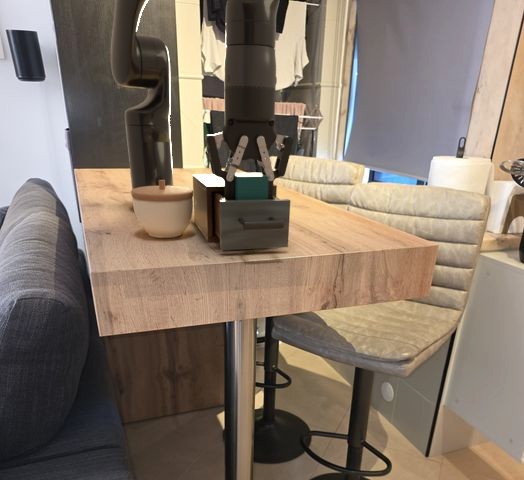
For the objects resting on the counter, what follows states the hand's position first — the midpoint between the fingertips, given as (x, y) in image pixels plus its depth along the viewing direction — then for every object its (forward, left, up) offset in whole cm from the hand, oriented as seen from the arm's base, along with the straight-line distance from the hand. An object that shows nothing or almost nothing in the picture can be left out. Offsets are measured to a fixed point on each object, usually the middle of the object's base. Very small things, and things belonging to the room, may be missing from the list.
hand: (248, 204), depth 74 cm
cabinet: (-12, 0, -7) cm, 14 cm away
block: (0, 0, 0) cm, 0 cm away
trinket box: (-11, -13, -7) cm, 18 cm away
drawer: (0, 0, -6) cm, 6 cm away
